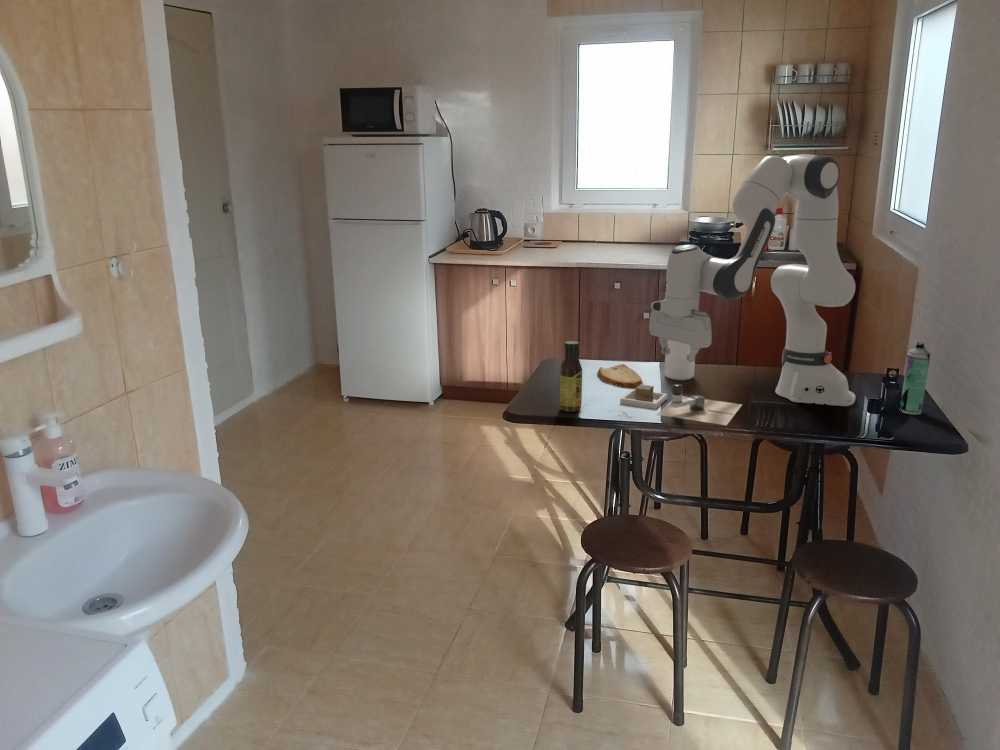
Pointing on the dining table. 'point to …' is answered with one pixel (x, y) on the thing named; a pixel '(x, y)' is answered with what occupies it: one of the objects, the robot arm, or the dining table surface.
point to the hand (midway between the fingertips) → (678, 357)
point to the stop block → (644, 393)
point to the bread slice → (620, 376)
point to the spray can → (915, 380)
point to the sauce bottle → (571, 379)
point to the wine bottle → (678, 362)
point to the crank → (693, 401)
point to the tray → (630, 400)
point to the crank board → (704, 412)
